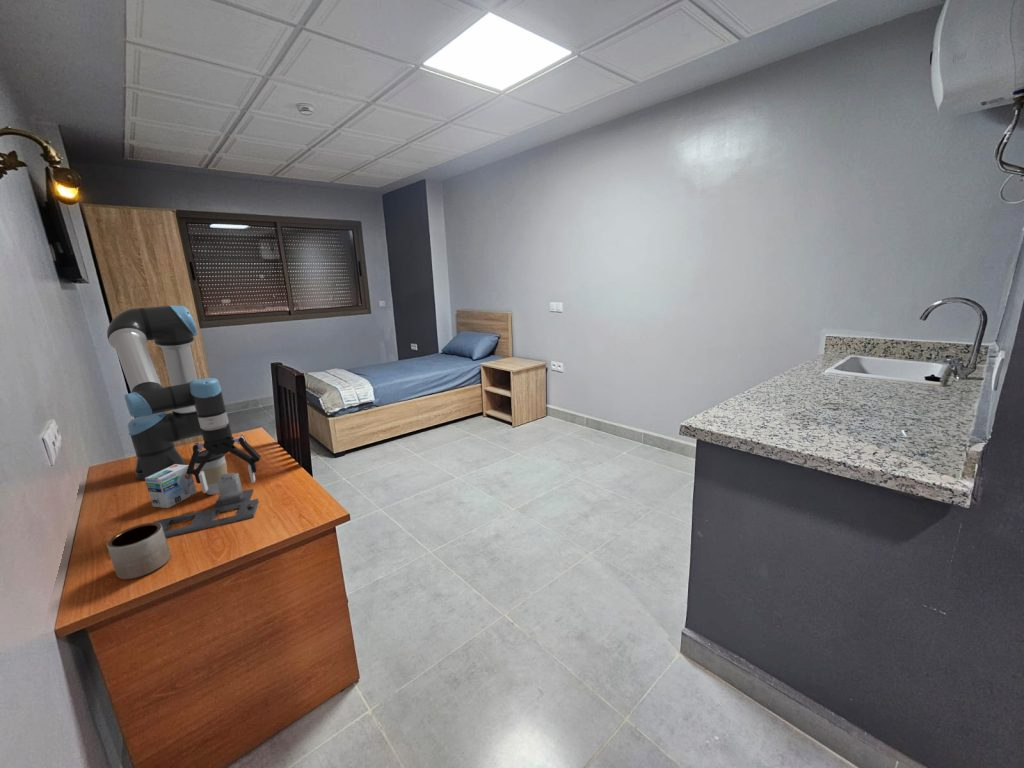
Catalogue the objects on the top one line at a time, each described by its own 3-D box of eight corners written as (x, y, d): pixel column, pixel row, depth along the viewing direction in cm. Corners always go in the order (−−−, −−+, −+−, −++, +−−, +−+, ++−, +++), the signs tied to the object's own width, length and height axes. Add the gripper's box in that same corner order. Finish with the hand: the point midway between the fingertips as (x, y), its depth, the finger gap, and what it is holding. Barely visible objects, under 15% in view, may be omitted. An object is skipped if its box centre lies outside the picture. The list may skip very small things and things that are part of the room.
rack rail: (154, 524, 126) (153, 519, 126) (258, 501, 137) (257, 497, 136) (141, 543, 117) (139, 537, 117) (253, 517, 128) (252, 512, 127)
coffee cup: (200, 499, 140) (189, 459, 136) (204, 487, 148) (194, 449, 144) (231, 491, 144) (221, 452, 140) (234, 481, 152) (225, 443, 148)
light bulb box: (168, 508, 135) (159, 479, 132) (152, 507, 136) (143, 478, 134) (198, 492, 145) (190, 464, 142) (182, 490, 147) (175, 463, 144)
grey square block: (226, 497, 139) (220, 474, 137) (243, 493, 141) (237, 470, 139) (222, 504, 135) (216, 480, 132) (240, 500, 137) (234, 477, 134)
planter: (107, 575, 105) (96, 543, 102) (155, 549, 114) (146, 519, 112) (133, 585, 101) (122, 551, 98) (181, 557, 111) (171, 526, 108)
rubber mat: (219, 497, 141) (219, 495, 141) (253, 490, 144) (252, 488, 144) (212, 512, 132) (212, 510, 132) (248, 504, 136) (248, 502, 135)
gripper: (163, 438, 123) (181, 500, 129) (258, 423, 132) (271, 482, 138) (171, 429, 130) (188, 489, 135) (261, 416, 139) (273, 472, 145)
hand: (230, 486), depth 137 cm, fingers open, 13 cm apart
